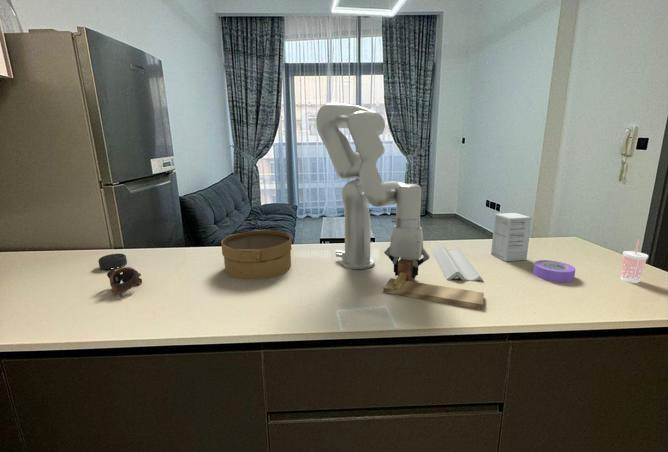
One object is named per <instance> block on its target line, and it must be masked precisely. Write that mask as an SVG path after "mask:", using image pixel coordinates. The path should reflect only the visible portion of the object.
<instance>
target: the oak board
mask: <svg viewBox="0 0 668 452" xmlns="http://www.w3.org/2000/svg"><path fill="white" fill-rule="evenodd" d="M395 280H396V278H392V277H391V278H390V277H389V279H388V280H387V282H386V284H384V285H383V289H382V292H383V293H387V294H391V295H392V294H393V295H399V296H404V297H409V298H416V299H420V300H427V301H432V302H438V303H442V304H443V303H444V304H448V305H454V306H462V307H466V308H473V309H478V310H483V309H484V296H485V295H484V294H485V293H484V292H481V291H477V290H476V291H474V290H468V289H464V288H463V289H462V288H457V287H456V288H455V287H449V286H445V285H444V286H443V285H437V284H430V283H424V282H419V281H418V282H417V281H412V280H411V281H406V280H405V281H404V283H403V284H402V286H401V287H400V289H396V288H393V283H394V281H395Z"/></svg>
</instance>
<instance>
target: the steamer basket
mask: <svg viewBox="0 0 668 452" xmlns="http://www.w3.org/2000/svg"><path fill="white" fill-rule="evenodd" d="M220 243H221V255H222V257H223V262H224V271H225V274H226V275H227V276H228V277H230V278H233V279H238V280H247V281H248V280H251V279H252V280H261V279H263V278H264V279H268V278H269V277H270V278H273V276H274V277H277V276H279V275H282V274H284V273H286V272H288V271H289V270H290V268H291V267H292V255H291V254H292V253H291V251H292V249H293V248H292V236H291V235H290V234H288V233H286V232H283V231H279V230H251V231H244V232H239V233H235V234H231V235H229V236H227V237H225V238H223V239H222V240H221V242H220ZM287 270H288V271H287ZM264 279H263V280H264Z"/></svg>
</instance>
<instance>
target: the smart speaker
mask: <svg viewBox="0 0 668 452" xmlns="http://www.w3.org/2000/svg"><path fill="white" fill-rule="evenodd" d="M97 262H98V267H99V269H101V268H102V270H104V269H111V268H117V267H120V268H122V267H121V266H123V265H125V264H126V265H127V264H128V258H127V255H126V254H125V253H111V254H107V255H106V254H105V255H104V256H102V257H100V258H99V259H98V261H97ZM126 265H125V266H126ZM123 267H124V266H123ZM117 269H118V268H117ZM111 270H112V269H111Z"/></svg>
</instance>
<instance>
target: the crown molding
mask: <svg viewBox="0 0 668 452" xmlns="http://www.w3.org/2000/svg"><path fill="white" fill-rule="evenodd" d="M431 253H432V256H433V257H434V259H435V261H436V263H437V264H438V267H439V269H440V270H441V273H442V276H443V277H444V279H445V280H446V281H451V280H453V279H454V280H456V279H460V280H462V281H463V282H464V281H467V282H477V281H478V280H479V281H484V279H483V278H482V276H481V275H480V274H479V273H478V271H477V269H475V267H474V266H473V265H472V263H471V262H470V260H469V259H468V258H467V257H466V256H465V254H464V253H463V252H462V251H461V249H460V248H459V247H455V248H454V249H451V250H450V249H447V248H446V247H445V246H444V244H443V243H438V244H437V245H436V246H435V247H434V248H432V249H431Z"/></svg>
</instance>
